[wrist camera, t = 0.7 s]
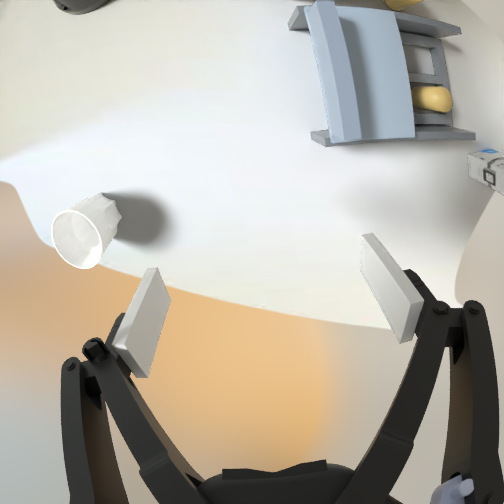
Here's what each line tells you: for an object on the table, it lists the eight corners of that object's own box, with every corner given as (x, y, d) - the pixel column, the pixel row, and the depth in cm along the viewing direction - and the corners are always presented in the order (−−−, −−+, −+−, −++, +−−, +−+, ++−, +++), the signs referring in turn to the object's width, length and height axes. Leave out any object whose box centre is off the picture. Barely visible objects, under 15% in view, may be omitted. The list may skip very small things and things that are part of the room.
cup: (113, 180, 41) (84, 201, 32) (134, 231, 46) (112, 261, 37) (72, 199, 42) (42, 221, 33) (94, 245, 47) (69, 273, 38)
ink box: (490, 148, 37) (540, 169, 24) (491, 169, 39) (538, 194, 26) (466, 153, 38) (519, 177, 25) (468, 177, 40) (517, 205, 27)
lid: (303, 8, 22) (313, -7, 17) (390, 13, 21) (410, 3, 16) (330, 142, 31) (345, 149, 26) (411, 136, 30) (434, 143, 25)
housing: (287, 23, 29) (297, 5, 22) (432, 33, 27) (460, 27, 20) (311, 139, 38) (325, 147, 31) (446, 131, 36) (475, 140, 29)
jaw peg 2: (408, 85, 33) (432, 85, 27) (426, 87, 33) (451, 88, 27) (411, 108, 35) (435, 111, 29) (429, 109, 35) (453, 112, 28)
